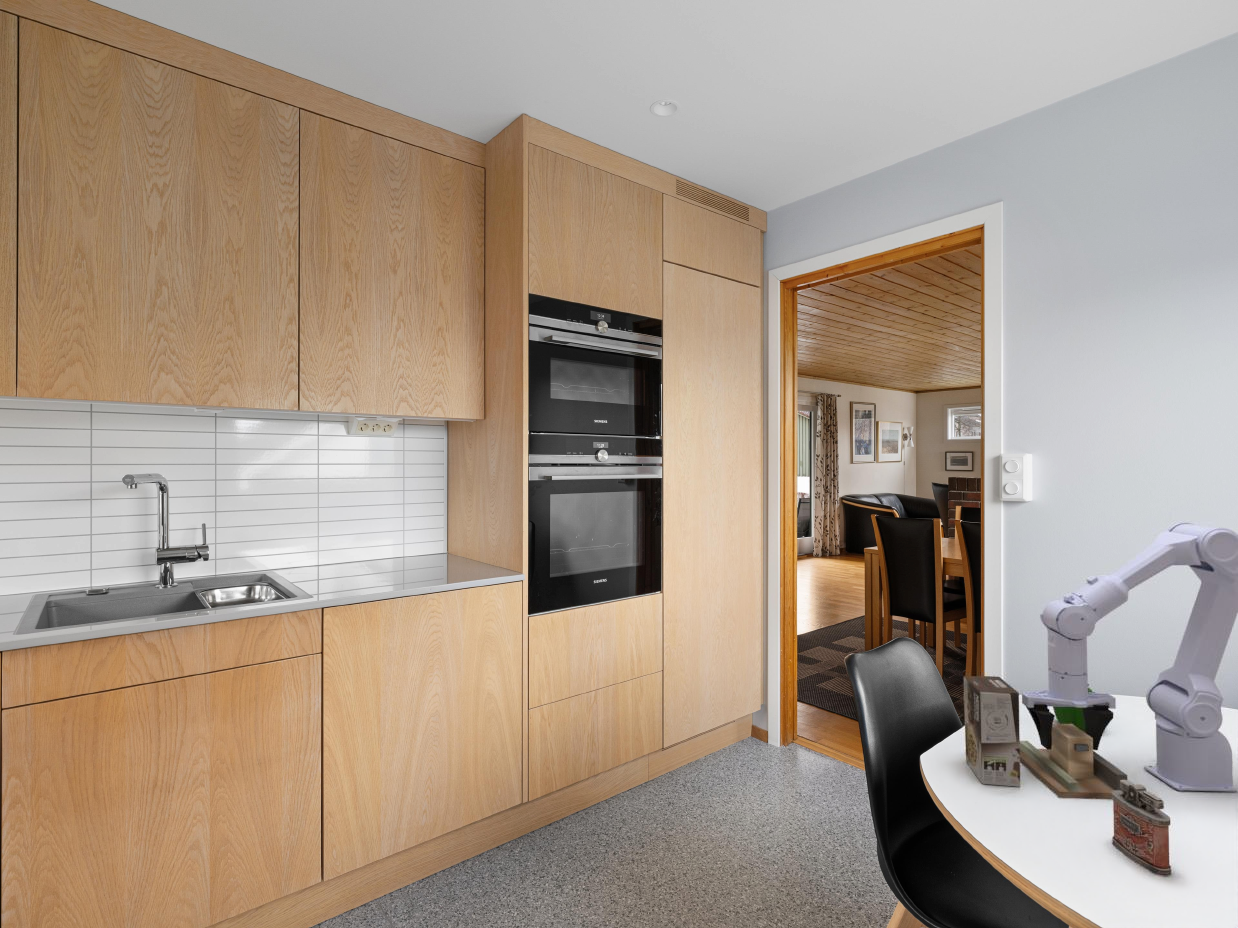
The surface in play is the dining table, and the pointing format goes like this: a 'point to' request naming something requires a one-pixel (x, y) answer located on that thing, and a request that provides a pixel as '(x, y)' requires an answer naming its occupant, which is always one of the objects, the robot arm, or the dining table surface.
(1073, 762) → the oak cabinet block
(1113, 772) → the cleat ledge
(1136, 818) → the lighter
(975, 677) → the coffee box
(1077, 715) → the bell pepper
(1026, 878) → the dining table surface
